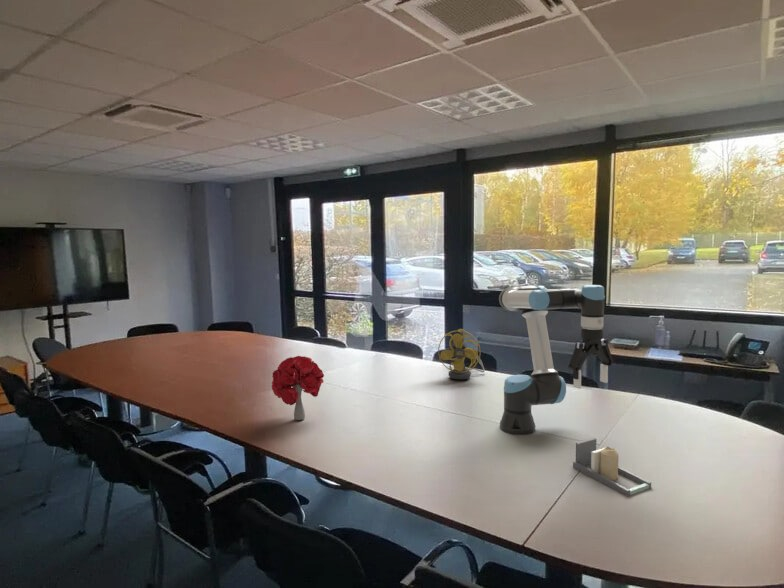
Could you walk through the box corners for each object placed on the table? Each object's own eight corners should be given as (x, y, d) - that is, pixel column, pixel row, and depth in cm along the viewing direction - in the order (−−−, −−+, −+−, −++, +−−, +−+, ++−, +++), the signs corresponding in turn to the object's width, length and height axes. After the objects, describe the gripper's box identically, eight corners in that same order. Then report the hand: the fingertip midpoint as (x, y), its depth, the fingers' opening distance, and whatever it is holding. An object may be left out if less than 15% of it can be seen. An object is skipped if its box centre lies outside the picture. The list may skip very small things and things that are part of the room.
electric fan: (437, 379, 275) (436, 330, 272) (447, 365, 305) (446, 321, 302) (480, 382, 267) (480, 332, 263) (486, 367, 297) (486, 322, 294)
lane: (572, 467, 164) (573, 443, 163) (595, 460, 168) (596, 436, 167) (627, 496, 144) (628, 469, 143) (651, 488, 149) (652, 461, 148)
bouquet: (299, 430, 202) (296, 365, 198) (263, 420, 214) (260, 358, 211) (331, 415, 220) (329, 354, 216) (296, 406, 232) (293, 349, 229)
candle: (597, 472, 159) (598, 445, 158) (612, 472, 159) (613, 444, 158) (604, 480, 154) (605, 452, 153) (620, 480, 154) (621, 452, 153)
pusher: (590, 473, 158) (591, 451, 158) (607, 468, 162) (608, 446, 161) (593, 474, 157) (594, 453, 156) (610, 469, 161) (610, 448, 160)
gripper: (575, 333, 155) (573, 393, 157) (624, 326, 166) (623, 382, 168) (558, 329, 162) (557, 387, 164) (607, 323, 172) (605, 377, 175)
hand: (590, 384), depth 166 cm, fingers open, 13 cm apart
